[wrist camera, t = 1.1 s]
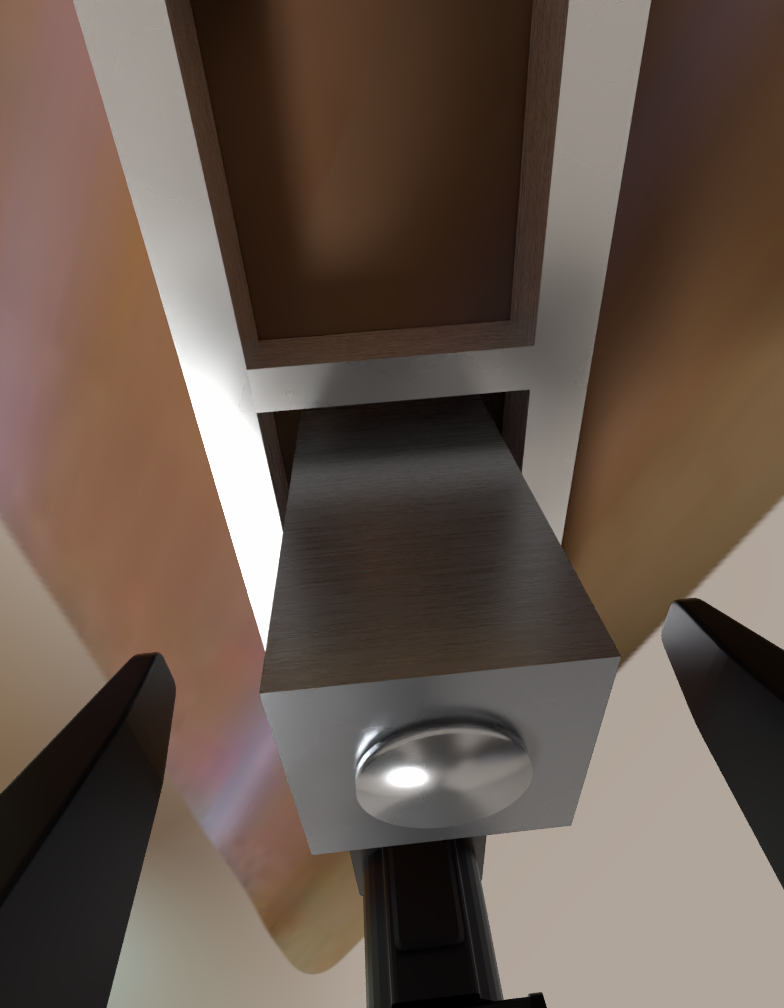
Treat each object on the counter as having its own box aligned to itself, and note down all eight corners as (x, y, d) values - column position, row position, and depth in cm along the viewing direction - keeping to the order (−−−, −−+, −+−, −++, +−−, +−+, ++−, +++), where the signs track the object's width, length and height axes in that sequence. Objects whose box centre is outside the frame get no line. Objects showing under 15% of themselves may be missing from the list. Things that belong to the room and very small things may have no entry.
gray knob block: (471, 527, 15) (575, 838, 8) (324, 541, 15) (311, 869, 8) (476, 389, 13) (629, 670, 6) (301, 404, 13) (256, 709, 6)
